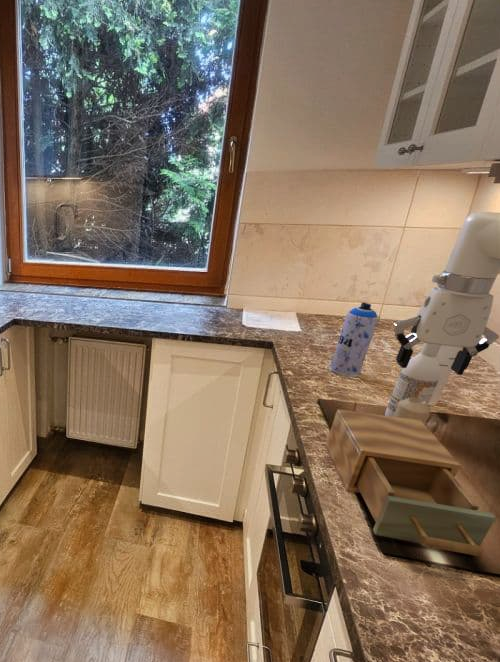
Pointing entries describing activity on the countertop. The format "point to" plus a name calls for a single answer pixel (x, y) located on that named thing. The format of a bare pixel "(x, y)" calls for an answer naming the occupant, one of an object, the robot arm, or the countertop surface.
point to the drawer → (422, 505)
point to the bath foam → (417, 378)
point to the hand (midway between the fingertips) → (428, 368)
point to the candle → (413, 409)
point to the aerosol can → (354, 341)
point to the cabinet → (382, 443)
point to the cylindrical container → (444, 369)
